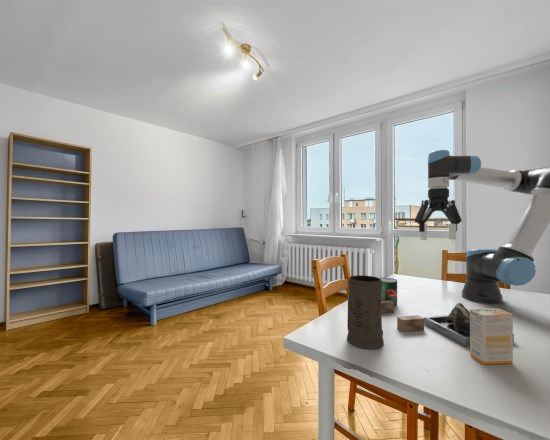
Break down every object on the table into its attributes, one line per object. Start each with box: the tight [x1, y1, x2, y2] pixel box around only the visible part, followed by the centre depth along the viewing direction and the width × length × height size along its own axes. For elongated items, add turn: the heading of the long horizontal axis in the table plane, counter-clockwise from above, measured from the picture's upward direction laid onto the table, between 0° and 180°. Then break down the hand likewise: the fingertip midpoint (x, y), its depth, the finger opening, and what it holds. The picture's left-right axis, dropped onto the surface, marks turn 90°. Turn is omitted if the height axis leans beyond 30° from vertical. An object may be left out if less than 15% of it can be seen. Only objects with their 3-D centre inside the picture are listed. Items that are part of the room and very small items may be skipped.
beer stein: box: [346, 274, 385, 350], centre depth 84 cm, size 15×11×20 cm
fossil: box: [446, 302, 470, 332], centre depth 88 cm, size 11×9×10 cm
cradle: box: [381, 300, 425, 333], centre depth 99 cm, size 8×20×4 cm, turn 10°
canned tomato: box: [379, 277, 398, 308], centre depth 116 cm, size 8×8×11 cm
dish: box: [423, 314, 515, 348], centre depth 88 cm, size 17×17×2 cm
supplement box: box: [469, 308, 514, 365], centre depth 72 cm, size 8×5×13 cm, turn 92°
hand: (438, 239), depth 111 cm, fingers open, 13 cm apart
